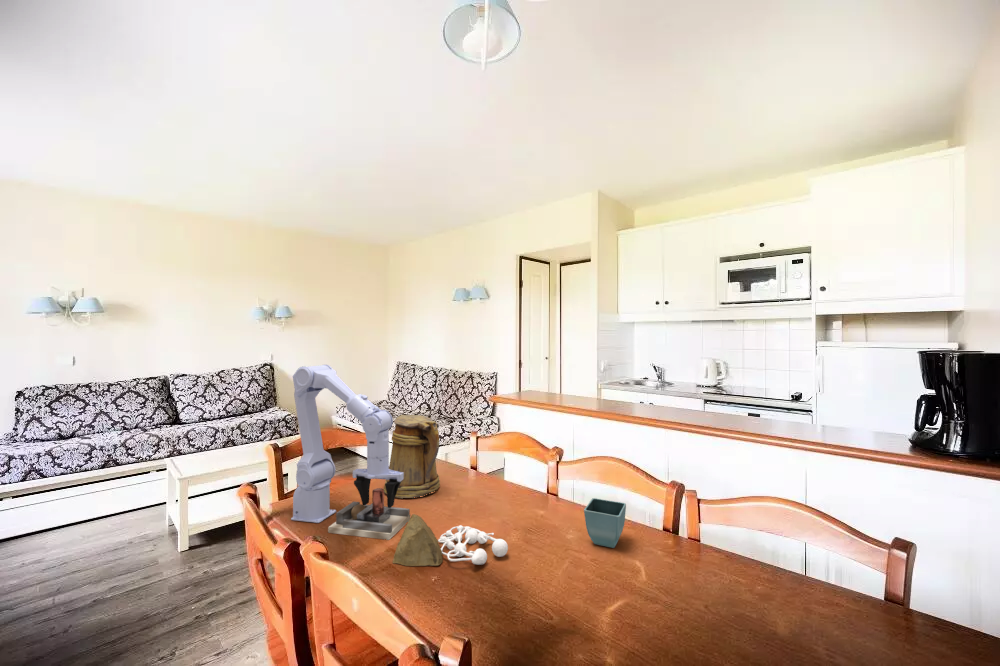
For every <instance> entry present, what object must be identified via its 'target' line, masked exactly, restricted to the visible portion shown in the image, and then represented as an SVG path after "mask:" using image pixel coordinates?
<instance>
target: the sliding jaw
mask: <svg viewBox="0 0 1000 666" xmlns="http://www.w3.org/2000/svg"><path fill="white" fill-rule="evenodd" d="M371 492H372V501H371V502H372V503H371V504H368V505H369V506H368V507H366V508H365V509H364V510H362V511H361V512H359V513H358V514H357V521H366V522H375V523H383V522H385V521H386V520H387V519H388V518H389V517H390V508H384V506H385V499H384V498H385V492H384V488H383V487H382V488H374V489H372V491H371Z"/></svg>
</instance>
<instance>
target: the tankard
mask: <svg viewBox="0 0 1000 666" xmlns="http://www.w3.org/2000/svg"><path fill="white" fill-rule="evenodd" d="M393 423H394V424H395V428H394V430H393V432H392V434H391V435H392V436H391V441H392V447H391V454H390V457H389V469H390V470H394V471H398V472H404V479H403V480H402V482H401V484H400V486H399V488H398V490H397V493H396V496H395V499H403V498H412V499H417V498H416V497H420V496H424V495H426V494H429V493H431V492H434V491H435V490H436V491H438V489H439V488H440V482H441V481H440V475H439V474H438V472H437V461H436V459H437V456H438V453H439V449H440V433H439V427H440V425H439V423H437V422H436V421H435V420H433V419H432V418H430V417H427V416H425V415H419V414H401V415H399V416H397V417H396V418H395V419H394V421H393ZM388 481H389V480H385V483H387V482H388ZM385 483H384V485H383V489H384V494H386V495H387V491H386V487H385ZM436 491H435V492H436ZM435 492H434V493H435ZM429 495H430V494H429ZM426 496H427V495H426ZM414 497H415V498H414ZM424 497H425V496H424ZM420 498H421V497H420Z"/></svg>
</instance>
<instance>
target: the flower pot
mask: <svg viewBox="0 0 1000 666" xmlns="http://www.w3.org/2000/svg"><path fill="white" fill-rule="evenodd" d="M626 509H627V504H626V503H625V502H621V501H615V500H614V501H613V500H607V499H601V498H597V497H594V498H591V499H590V501H589V502H588V504H587V505H586V506H585V507H584V509H583V512H584V521H585V527H586V531H587V534H588V536H589V538H590V541H592V543H593V544H594V545H598V546H601V547H606V548H610V549H611V548H612V549H614V548H616V547H617V544H618V542H619V539H620V537H621V535H622V533H623V530H624V527H625V522H626V512H627V511H626Z"/></svg>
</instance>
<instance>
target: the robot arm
mask: <svg viewBox="0 0 1000 666" xmlns="http://www.w3.org/2000/svg"><path fill="white" fill-rule="evenodd" d="M292 380H293V381H292V382H293V388H294V392H293V393H294V394H293V395H294V404H295V410H296V416H297V422H298V429H299V436H300V441H301V447H302V453H303V454H302V457H301V458H299V460H298V462H297V463H296V475H295V479H296V483H297V485H298V486H297V488H296V489H295V490H294V493H293V496H292V517H291V518H290V519H291V521H299V522H307V523H315V524H319V523H321V522H323V521H325V520H326V519H327V518H329V517H330V516H332V515H333V514H335V513H337V510H336V509H331V508H330V507H331V505H330V504H331V503H330V502H331V501H330V496H331V495H330V490H331V489H330V488H331V487H330V486H331V485H330V484H331V483H332V479H333V478H334V477H335V475H336V471H337V470H336V465H335V462H334V461H333V459H332V455H331V453H329V452H328V451H326V450H324V444H323V438H322V433H321V430H322V429H321V425H320V419H319V413H318V408H317V407H318V406H317V400H316V398H317V396H318V395H319V394H320V392H322V391H323V390H324V389H327V390H328V391H330V392H331V393H333V394H334V395H335V396H336V397H337V398H339V399H340V400H341V401H343V402H344V403H346V410H347V411H348V412H349V413H350V414H351V415H352V416H353V417H355V418H356V419H357V420H358V421H359V422H360V423H361V427H362V430H363V432H364V433H365V439H366V457H367V458H366V468H356V469H354V470H352V478H353V479H355V480H354V481H353V485H354V486H355V487H356V489H357V491H358V494H359V496H360V500H361V504H362V505H369V502H370V486H371V481H372V480H375V479H376V480H385V481H386V480H389V481H388V482H387V483H384V485H385V487H386V491H387V494H386V496H387V497H386V500H387V501H386V505H387V506H386V507H388V508H391V507H394V505H395V500H396V497H395V496H396V493H397V490H398V488H399V486H400V484H401V482H402V480H403V479H404V472H398V471H394V470H390V469H389V465H390V457H389V456H390V455H389V454H390V451H389V449H390V445H389V444H390V440H389V438H390V437H389V432H390V430H389V429H391V428H392V427H393V423H394V421H393V419H394V418H393V416H392V414H391V412H389V410H387V409H380V407H379V406H378V405H377V406H376V405H375V404H374V403H373V402H372V401H370V400H369V396H367V395H366V394H363V393H359V394H356V393H355V392H354V391H353V390H352V389H351V388H350V387H349V386H348V385H347V384H346V383H345V382H344V381H343V380H342V378H341V377H339V376H338V375H337V370H336V369H333V367H332V366H331V365H329V364H322V365H309V366H306V365H304V366H300V367H299V368H297V370H296V371H295V372H294V374H293V375H292Z"/></svg>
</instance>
